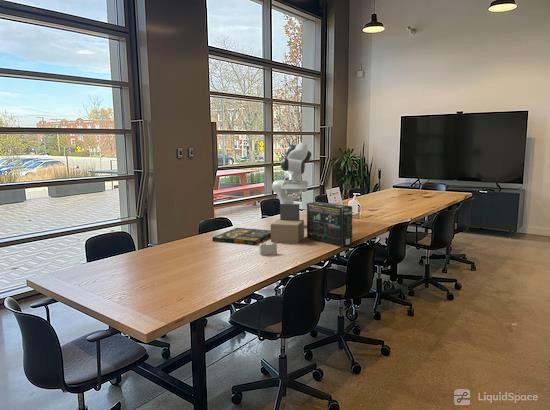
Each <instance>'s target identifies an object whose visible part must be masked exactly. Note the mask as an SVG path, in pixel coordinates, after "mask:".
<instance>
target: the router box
mask: <svg viewBox="0 0 550 410" xmlns="http://www.w3.org/2000/svg"><path fill="white" fill-rule="evenodd" d="M306 239H307V240H313V241H316V242H320V243H325V244H328V245H334V246H339V247H346V246H347V247H348V246H349V245H353V206H352V205H344V204H337V203H330V202H329V203H328V202H321V201H313V202H306Z"/></svg>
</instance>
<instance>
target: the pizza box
mask: <svg viewBox="0 0 550 410" xmlns="http://www.w3.org/2000/svg"><path fill="white" fill-rule="evenodd" d="M211 238H212V242H215V243H216V242H217V243H227V244H236V245H237V244H238V245H247V246H257V245H258V243H259V244H260V242H261V243H263V242H264V241H267V240H268V239H271V229H270V230H269V229H258V228H257V229H256V228H245V227H243V228H242V227H235V228H232V229H230V230H227V231H225V232H222V233H220V234H216V235H215V236H212V237H211Z"/></svg>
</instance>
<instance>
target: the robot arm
mask: <svg viewBox="0 0 550 410" xmlns="http://www.w3.org/2000/svg"><path fill="white" fill-rule="evenodd" d="M285 152H286V156H284V158H283V159H282V160H281V162H280V169H281V170H282V171H283V172H284V174H283V175H284V178H283V179H277V180H274V181H273V182H272V184H271V189H272V191H273V192H274V193H275V194H276V195H277V197H278V199H279V202H280V203H279V205H280V204H295V203H294V199H293V198H291V197H290V196H289V194H297V196H298V197H299V196H301V194H302V193H303V192H304V193H305V192H308V185H309V182H308V181H306V180H302V179H303V174H305V168H306V164H307V163H309V161H310V160H312V152H311V151H309V149H308V144H306V142H299V143H297V144H289V146H288V147H286V151H285ZM278 219H280V215H278Z"/></svg>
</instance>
